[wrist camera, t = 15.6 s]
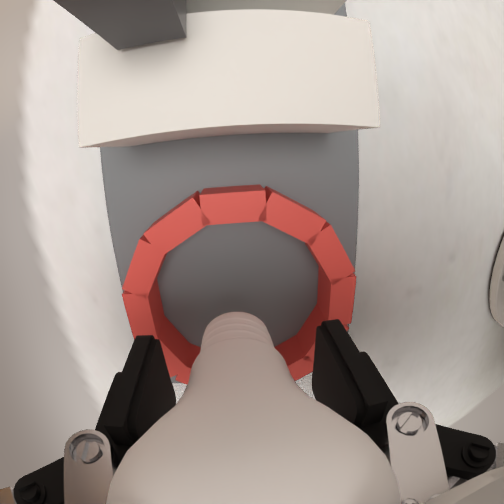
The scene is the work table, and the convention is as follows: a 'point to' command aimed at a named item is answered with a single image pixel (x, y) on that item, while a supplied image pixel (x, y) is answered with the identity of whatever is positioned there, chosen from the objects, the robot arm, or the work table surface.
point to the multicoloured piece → (234, 169)
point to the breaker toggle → (131, 20)
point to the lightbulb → (250, 436)
